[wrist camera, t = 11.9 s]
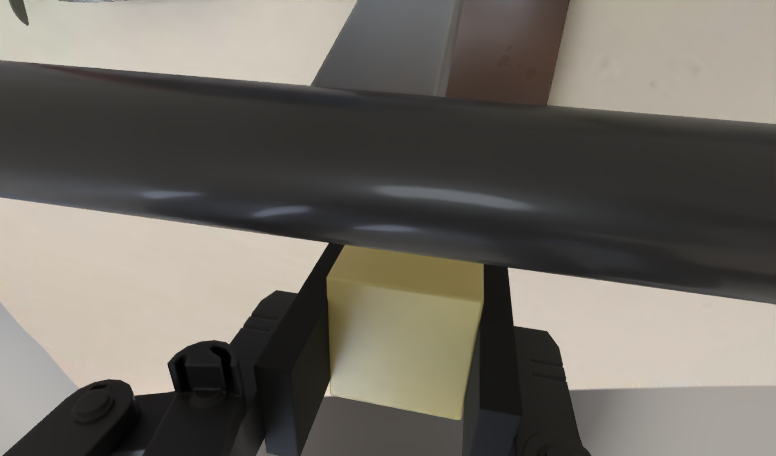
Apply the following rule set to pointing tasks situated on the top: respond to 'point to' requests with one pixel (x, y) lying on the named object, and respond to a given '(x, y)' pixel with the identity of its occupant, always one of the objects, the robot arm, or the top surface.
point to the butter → (403, 329)
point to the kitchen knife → (19, 10)
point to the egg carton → (90, 0)
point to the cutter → (404, 163)
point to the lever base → (507, 50)
